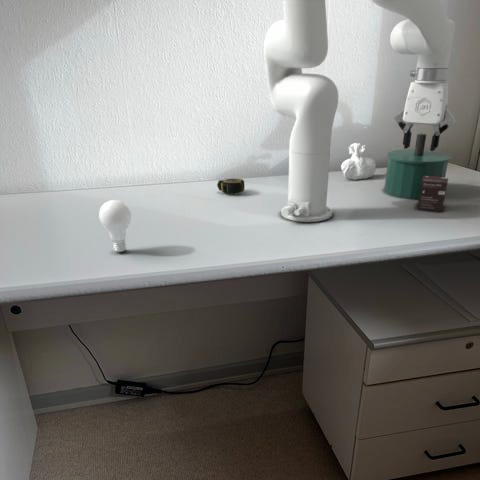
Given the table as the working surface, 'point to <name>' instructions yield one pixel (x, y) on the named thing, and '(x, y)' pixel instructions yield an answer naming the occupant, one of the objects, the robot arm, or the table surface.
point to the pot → (410, 177)
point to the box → (432, 193)
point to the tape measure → (231, 186)
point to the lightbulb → (116, 222)
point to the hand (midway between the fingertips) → (419, 148)
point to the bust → (358, 164)
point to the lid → (419, 154)
